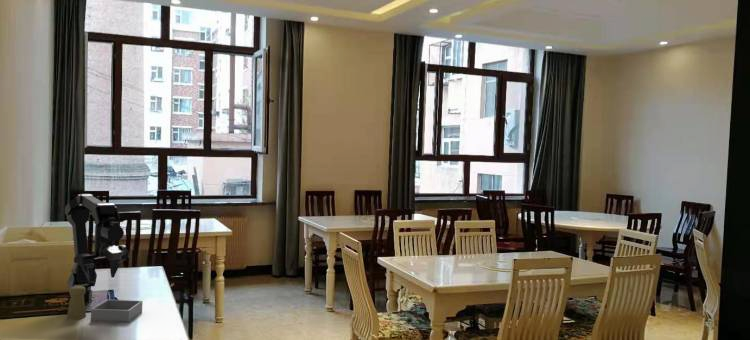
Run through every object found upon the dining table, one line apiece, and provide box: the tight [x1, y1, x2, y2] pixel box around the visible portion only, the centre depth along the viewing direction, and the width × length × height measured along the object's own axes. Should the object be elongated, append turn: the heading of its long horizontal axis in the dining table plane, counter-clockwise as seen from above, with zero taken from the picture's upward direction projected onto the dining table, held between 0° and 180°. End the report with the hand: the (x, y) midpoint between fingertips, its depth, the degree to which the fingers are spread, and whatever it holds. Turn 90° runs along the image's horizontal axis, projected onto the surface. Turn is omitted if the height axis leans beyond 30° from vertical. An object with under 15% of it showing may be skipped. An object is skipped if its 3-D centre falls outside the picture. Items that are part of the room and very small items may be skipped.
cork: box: [66, 286, 87, 320], centre depth 197 cm, size 6×6×11 cm
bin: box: [90, 299, 143, 324], centre depth 200 cm, size 13×13×4 cm
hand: (101, 279), depth 202 cm, fingers open, 9 cm apart
